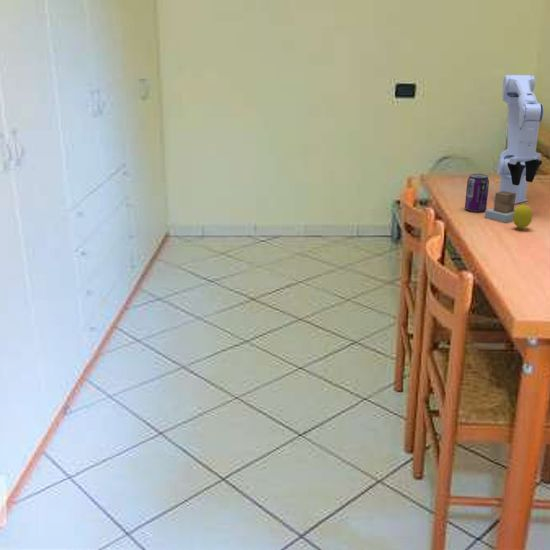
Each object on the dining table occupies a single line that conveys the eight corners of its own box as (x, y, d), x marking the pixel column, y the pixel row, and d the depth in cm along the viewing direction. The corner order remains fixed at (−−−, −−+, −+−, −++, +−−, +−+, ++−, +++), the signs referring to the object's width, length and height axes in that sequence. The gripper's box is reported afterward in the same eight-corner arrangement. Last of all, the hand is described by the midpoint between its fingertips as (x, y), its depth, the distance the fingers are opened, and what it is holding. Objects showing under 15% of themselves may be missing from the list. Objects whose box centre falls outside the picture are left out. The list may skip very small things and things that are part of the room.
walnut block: (501, 208, 224) (503, 190, 222) (513, 211, 221) (515, 193, 218) (493, 210, 221) (495, 192, 219) (505, 213, 218) (507, 195, 216)
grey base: (499, 213, 227) (500, 206, 226) (520, 218, 221) (521, 211, 220) (484, 217, 223) (485, 210, 222) (505, 223, 217) (506, 215, 216)
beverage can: (486, 213, 228) (490, 178, 224) (465, 212, 229) (468, 177, 225) (485, 207, 234) (488, 173, 230) (464, 207, 236) (467, 172, 232)
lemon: (530, 227, 212) (533, 202, 209) (530, 232, 207) (533, 206, 204) (511, 225, 214) (514, 201, 211) (511, 230, 209) (514, 205, 206)
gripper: (525, 146, 212) (520, 188, 216) (551, 141, 220) (545, 182, 224) (506, 143, 217) (501, 184, 222) (532, 138, 225) (527, 178, 230)
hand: (522, 183), depth 223 cm, fingers open, 7 cm apart
